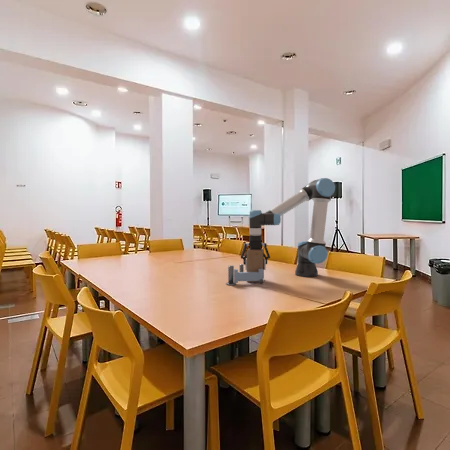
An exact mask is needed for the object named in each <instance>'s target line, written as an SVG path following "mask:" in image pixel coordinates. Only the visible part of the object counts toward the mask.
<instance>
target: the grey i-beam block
mask: <svg viewBox="0 0 450 450" xmlns="http://www.w3.org/2000/svg"><path fill="white" fill-rule="evenodd" d="M247 281H258V282H257V283H259V284H263V283H264V279H263V269H258V272H247V271H244V272H240V271H239V270H238V268H234V283H236V284H238V283H239V282H247Z"/></svg>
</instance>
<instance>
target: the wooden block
mask: <svg viewBox="0 0 450 450" xmlns="http://www.w3.org/2000/svg"><path fill="white" fill-rule="evenodd" d="M261 249H262V250H259V249H252V250H250V249H249V248H248V249H246V253H247V258H246V259H247V270H246V272H258V269H263V280H264V279H265V278H264V277H265V274H264V273H265V270H264V259H265V258H264V256H263V252H264V253H265V248H261ZM246 282H247V283H259V282H258V281H246Z"/></svg>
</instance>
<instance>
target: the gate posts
mask: <svg viewBox="0 0 450 450" xmlns="http://www.w3.org/2000/svg"><path fill="white" fill-rule="evenodd" d="M234 267H235V266H234V265H228V267H227V268H228V271H227V272H228V273H227V274H228V278H227V279H228V282H226V283H225V285H226V286H237V283H234V269H235V268H234ZM244 270H245V265H244V264H243V263H242V264H241V263H240V264H239V272H245V271H244Z"/></svg>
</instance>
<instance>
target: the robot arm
mask: <svg viewBox="0 0 450 450" xmlns="http://www.w3.org/2000/svg"><path fill="white" fill-rule="evenodd" d="M335 191H336V185H335V183H334V181H333V180H332V179H331V178H328V177H324V178H323V177H322V178H319V179H314V180H312V181H310V182H309V183H307V184H306V185H304V186H303V187H302V188H300V189H299V191H298V192H297V193H295V194H293V195H291V196H290V197H288V198H287V199H285V200H283V201H282V202H280V203H278V204H277V205H275V206H273V207H272V208H271V209H269V210H266V211H265V212H262V210H260V209H257V210H256V209H255V210H254V209H251V210H250V211H249V216H248V218H249V220H248V221H249V224H248V226H249V230H248V231H249V232H248V233H249V238H248V239H249V241H248V243H247V242H245V243H244V245H243V250H242V252H241V255H240V259H242V261H243V263H242V264H243V265H244V270H245V271H247V248H248V246H249V248H248V249H250V250H252V249H259V250H262V249H264V252H263V256H264V271H267V269H266V268H267V266H266V265H268V260H269V259H271V256H270V252H269V249H268V247H267V243H266V242H262V226H280V225H281V221H282V218H281V217H282V216H284V214H287V213H288V212H290V211H291V210H294V209H295V208H296V207H297V208H298V206H299V205H301V204H303V203H305V202H309V201H310V200H312V201H313V209H312V217H311V225H310V233H309V234H310V235H309V239H307V240H306V241H299V242H298V243H297V265H296V268H295V270H294V271H295V273H294V275H295V276H298V277H303V278H304V277H306V278H311V277H312V278H313V277H314V276H315V277H318V276H317V275H319V271H318V268H317V265H318V264H322V263H323V262H325V261H326V260H327V259H328V250H327V248H326V246H327V245H326V244H327V243H326V241H325V240H324V239H325V233H326V232H325V231H326V222H327V213H328V207H329V206H328V205H329V203H330V201H332V200H331V199H332V196H333V194H335ZM262 246H263V247H264V248H262ZM265 253H266V254H265ZM316 264H317V265H316Z"/></svg>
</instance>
